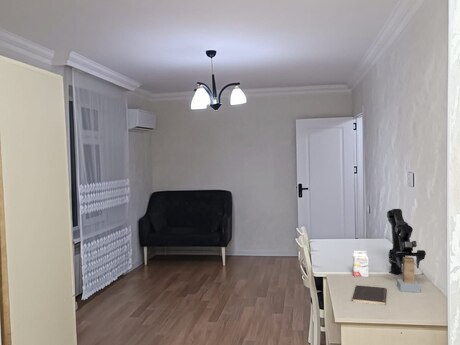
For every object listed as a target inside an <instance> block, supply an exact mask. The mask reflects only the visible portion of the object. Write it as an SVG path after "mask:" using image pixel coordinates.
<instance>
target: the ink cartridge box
mask: <svg viewBox="0 0 460 345" xmlns="http://www.w3.org/2000/svg"><path fill="white" fill-rule="evenodd" d="M369 262H370V260H369V256H368V251H367V250H353V254H352V275H353V276H354V277H366V278H368V277H369Z"/></svg>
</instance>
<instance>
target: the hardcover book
mask: <svg viewBox="0 0 460 345" xmlns="http://www.w3.org/2000/svg"><path fill="white" fill-rule="evenodd" d="M387 291H388V290H387V287H377V286H370V285H369V286H368V285H367V286H366V285H355V288H354V292H353V295H352V297H351V298H352V302H353V301H356V302H357V303H363V302H364V304H365V303H366V304H372V303H374V304H375V305H384V306H386V305H387V304H386V303H387Z"/></svg>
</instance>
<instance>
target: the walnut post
mask: <svg viewBox="0 0 460 345" xmlns="http://www.w3.org/2000/svg"><path fill="white" fill-rule="evenodd" d="M402 272H403V274H402V279H403V282H404V283H414V280H415V258H414V257H413V256H406V257H403V264H402Z"/></svg>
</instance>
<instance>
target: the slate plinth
mask: <svg viewBox="0 0 460 345" xmlns="http://www.w3.org/2000/svg"><path fill="white" fill-rule="evenodd" d="M396 287H397V289H398V290H399V292H401V293H421V284H420V282H418V280H417V279H414V283H404V282H403V278H400V279H399V278H397V279H396Z"/></svg>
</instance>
